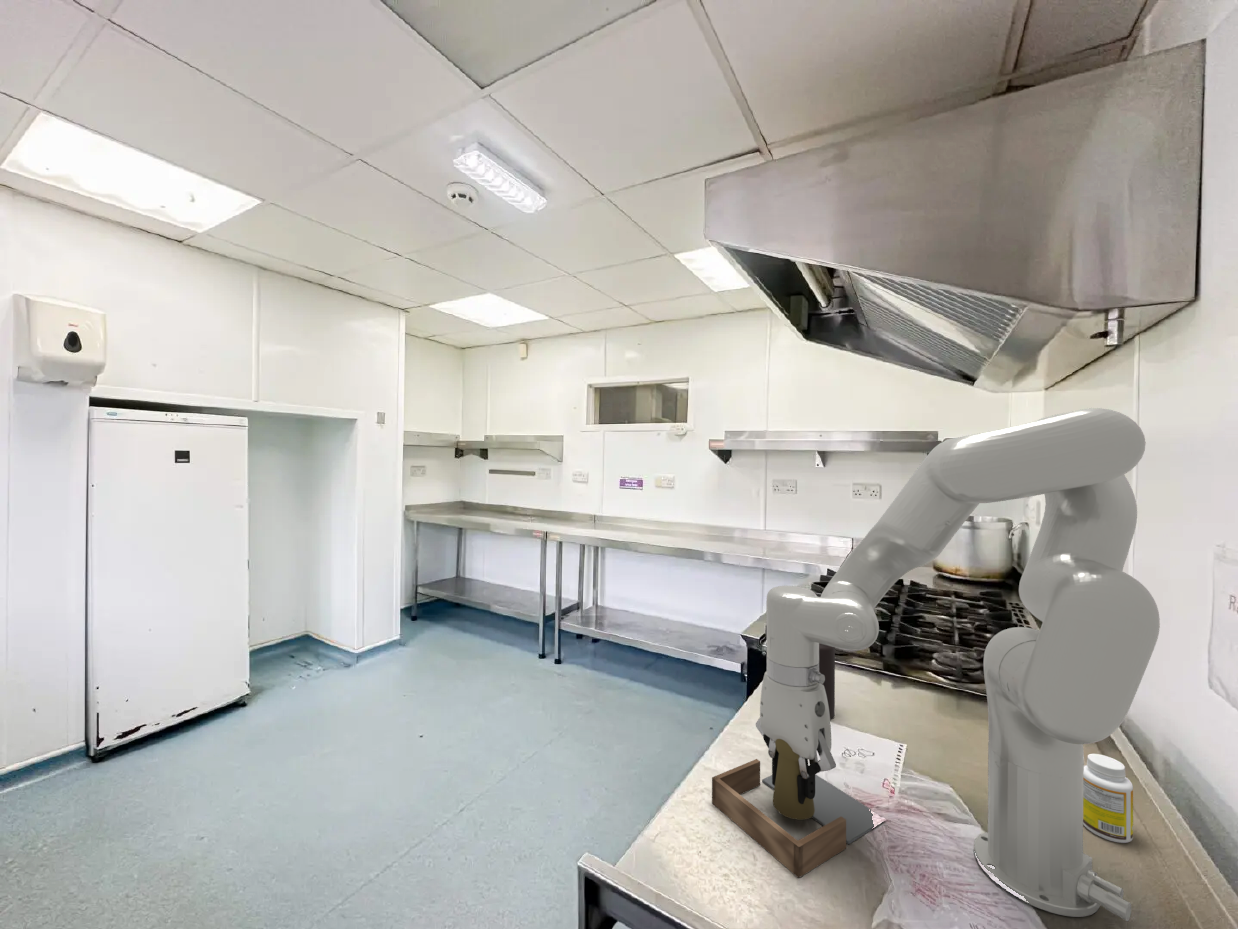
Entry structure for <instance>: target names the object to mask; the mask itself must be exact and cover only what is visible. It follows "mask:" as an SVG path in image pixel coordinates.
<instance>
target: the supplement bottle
mask: <svg viewBox="0 0 1238 929" xmlns="http://www.w3.org/2000/svg"><path fill="white" fill-rule="evenodd" d="M1126 775H1127V774H1126V766H1125V765H1124V763H1122V762H1121V761H1119V760H1117V759H1115V758H1112V757H1110V756H1107V755H1104V754H1100V753H1090V754H1087V759H1086V765H1085V764H1084V772H1083V827H1085V828H1086V829H1087V830H1088V831H1090V832H1091V833H1092V834H1095V835H1096V836H1099V837H1100V838H1101V839H1102V838H1103V839H1104V840H1107V841H1110V842H1113V843H1114V842H1115V843H1120V844H1127V843H1130V842H1132V841H1133V839H1134V787H1133V783H1132V782H1131V780H1130V779H1129V778H1128V777H1126Z"/></svg>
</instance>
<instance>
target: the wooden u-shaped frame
mask: <svg viewBox="0 0 1238 929" xmlns="http://www.w3.org/2000/svg"><path fill="white" fill-rule="evenodd" d="M759 786H761V761H760V760H759V759H758V758H756V759H753V760H750V761H749V762H746V763H743V764H741V765H739V766H736V767H734V768H732V769H729V770H727V771H724V772H721V773H719V774H717V775H715V776H712V777H711V803H712V805H714V806H715V807H716V808H717V809H719V810H720V811H721V812H722V813H723V814H724V815H725V816H726V817H728V818H729V819H730V820H731V821H732V822H733V823H734V824H736V825H737V826H738V827H739V828H740V829H741V830H743V831H744V832H745V833H746V834H748V836H749V837H750V838H752V839H753V840H754V841H755V842H756V843H757V844H759V845H760V846H761V847H762V848H763V849H764V850H766V851H767V852H768V853H769V854H770V855H771V856H772V857H774V858H775V859H776V860H777V861H778V862H779V863H780V864H781V865H783V866H784V867H785V868H787V870H788V871H790V873H792V874H793V875H794V876H795V877H796V878H798V879H800V878H801V877H804V875H806V874H808V873H809V872H811V871H813V870H814V869H816V868H817V867H818V866H821V865H822V864H824V863H825V862H827V861H829V860H830V859H832V858H833V857H835V856H837V855H838V854H840V853H841V852H843V851H845V850H846V849H847V843H846V819H844V818H843V817H839V818H837V819H835V820H834V821H832V822H830V823H828V824H826V825H825V826H821V827H819V828H817V829H816V830H814V831H812V832H810V833H809V834H807V835H805V836H804V837H802V838H800V839H796V838H795V837H794V836H792V835H791V834H790V833H789V832H787V830H785V829H783V828H782V827H781V826H780V825H779V824H777V823H776V822H775V821H774V820H772V819H771V818H770V817H769V816H768V815H766V814H765V813H763V812H762V811H761V810H760V809H758V808H757V807H756V806H755V805H754V804H753V803H751V802H749V800H747V799H746V798H745V797H744V796H742V794H744V793H746V792H749V791H751V790H754V789H755V788H758V787H759Z"/></svg>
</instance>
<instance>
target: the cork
mask: <svg viewBox="0 0 1238 929" xmlns="http://www.w3.org/2000/svg"><path fill="white" fill-rule="evenodd" d="M775 745H776V749H777V751H778V753H779V757H778V764H777V772H776V779H775V787H774V790H773V796H772V805H773V807H774V809H775V810H776V811H777V812H778V813H779V814H780V815H783V816H784V817H786V818H788V819H792V820H799V821H800V820H802V821H804V820H808V819H810V818H811V817H812V816H813V815H814V812H815V808H814V801H813V799H809V798H807V797H806V798H805V801H804V804H800V803H799V802H798V787H797V776H798V775H800V774H801V773H800V766H799V760H798V759H799V757H800V756H799V755H798V754H796V753H795V752H793V750H792V748H791V747H790V746H789V744H788V743H787V742H785V741H784V740H782V739H776V741H775ZM807 761H808V762H809V759H807ZM809 765H810V764H808V766H809ZM811 819H812V818H811Z"/></svg>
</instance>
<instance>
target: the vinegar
mask: <svg viewBox="0 0 1238 929" xmlns="http://www.w3.org/2000/svg"><path fill="white" fill-rule="evenodd" d="M819 672H820V673H821V674H823V675H824V676H825V681H824V683H823V684H822V685H824V688H825V691H826V696H827V700H828V706H829V714H830V720H832V719H833V718H834V717H835V716H836V715H835V714H836V713H835V711H836V710H835V706H836V705H835V702H836V696H835V693H836V692H835V691H836V687H835V686H836V684H835V683H836V682H835V681H836V648H835V647H831V646H828V645H824V644H821V643H819Z"/></svg>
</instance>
